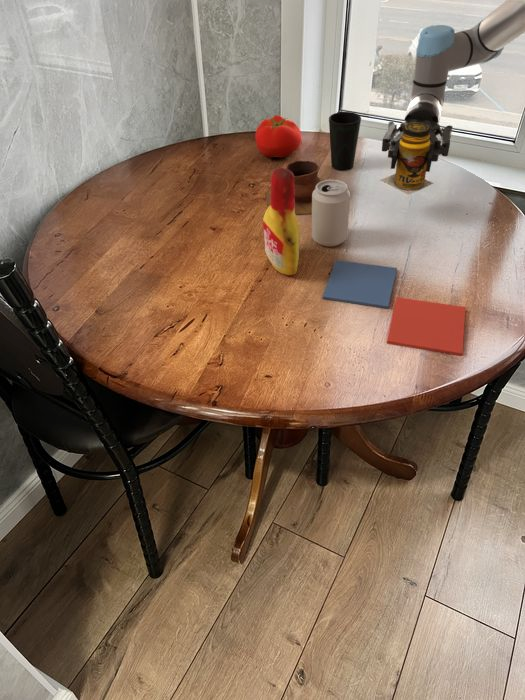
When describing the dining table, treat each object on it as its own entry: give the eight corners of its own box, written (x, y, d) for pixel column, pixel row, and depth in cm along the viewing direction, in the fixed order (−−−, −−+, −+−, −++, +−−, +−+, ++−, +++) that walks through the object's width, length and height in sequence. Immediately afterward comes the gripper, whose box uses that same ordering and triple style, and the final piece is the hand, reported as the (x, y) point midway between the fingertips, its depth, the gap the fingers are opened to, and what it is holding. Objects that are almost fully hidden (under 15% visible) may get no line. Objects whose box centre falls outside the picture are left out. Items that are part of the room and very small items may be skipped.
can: (316, 227, 117) (317, 175, 109) (350, 231, 115) (354, 179, 107) (307, 245, 112) (307, 192, 104) (342, 251, 110) (346, 197, 102)
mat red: (465, 309, 95) (465, 306, 95) (461, 355, 87) (462, 353, 87) (396, 299, 98) (396, 296, 98) (386, 343, 90) (387, 340, 90)
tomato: (297, 165, 139) (297, 132, 133) (250, 162, 142) (248, 130, 136) (305, 144, 148) (306, 112, 142) (261, 142, 150) (260, 110, 144)
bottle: (306, 278, 104) (307, 181, 90) (274, 284, 103) (270, 187, 89) (291, 245, 113) (289, 152, 99) (261, 250, 112) (255, 157, 98)
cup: (326, 159, 141) (328, 112, 132) (356, 158, 140) (359, 111, 132) (328, 173, 135) (329, 124, 127) (358, 172, 135) (362, 123, 126)
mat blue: (396, 270, 104) (397, 267, 104) (388, 308, 96) (388, 306, 96) (335, 262, 107) (335, 259, 107) (322, 298, 99) (322, 296, 99)
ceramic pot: (265, 216, 121) (264, 187, 117) (264, 179, 134) (263, 152, 129) (346, 212, 121) (347, 183, 116) (336, 175, 134) (338, 148, 129)
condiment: (408, 195, 110) (417, 136, 101) (379, 180, 115) (385, 123, 107) (433, 184, 112) (444, 126, 104) (404, 170, 118) (411, 114, 109)
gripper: (463, 138, 121) (457, 185, 106) (378, 132, 126) (360, 177, 111) (470, 103, 116) (465, 148, 101) (381, 99, 121) (363, 141, 105)
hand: (410, 163), depth 106 cm, fingers closed on condiment, 6 cm apart
